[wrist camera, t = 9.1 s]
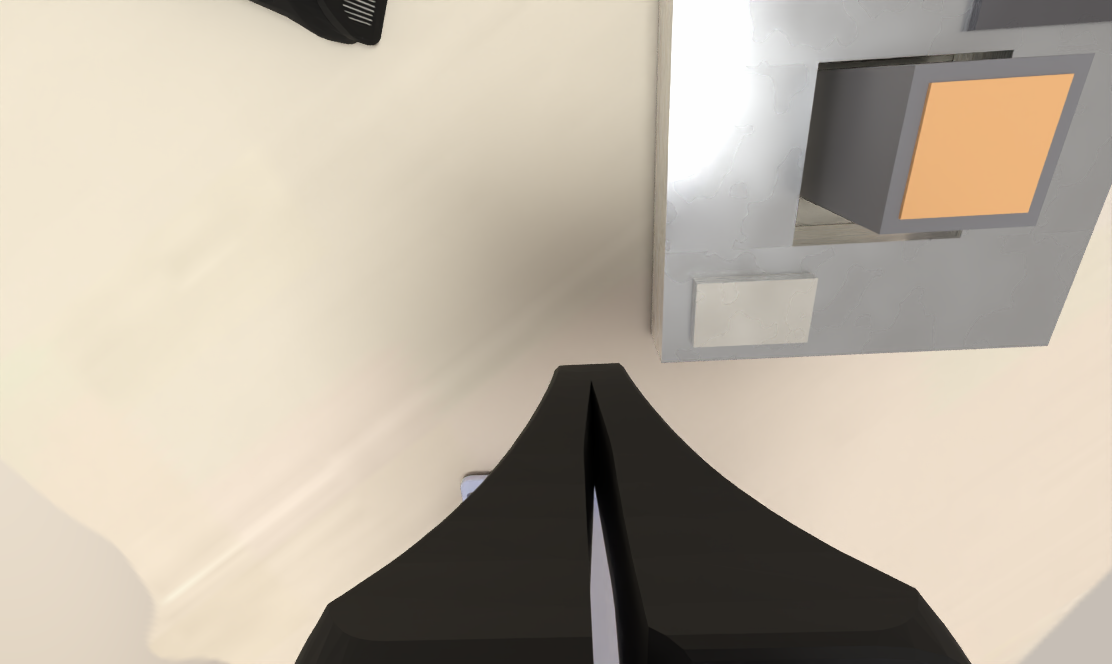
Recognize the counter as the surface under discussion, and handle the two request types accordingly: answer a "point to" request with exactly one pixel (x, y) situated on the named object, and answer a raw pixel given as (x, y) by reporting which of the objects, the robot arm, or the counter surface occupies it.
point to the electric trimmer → (335, 17)
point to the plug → (941, 141)
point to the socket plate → (849, 249)
